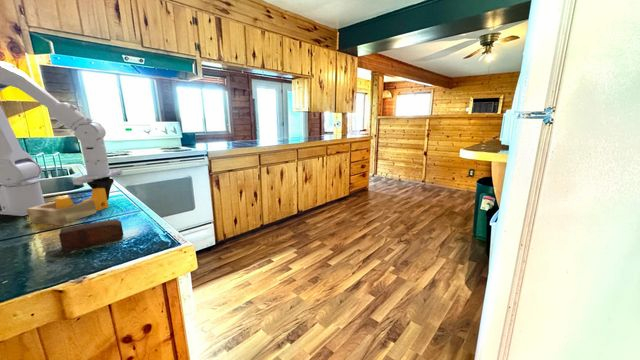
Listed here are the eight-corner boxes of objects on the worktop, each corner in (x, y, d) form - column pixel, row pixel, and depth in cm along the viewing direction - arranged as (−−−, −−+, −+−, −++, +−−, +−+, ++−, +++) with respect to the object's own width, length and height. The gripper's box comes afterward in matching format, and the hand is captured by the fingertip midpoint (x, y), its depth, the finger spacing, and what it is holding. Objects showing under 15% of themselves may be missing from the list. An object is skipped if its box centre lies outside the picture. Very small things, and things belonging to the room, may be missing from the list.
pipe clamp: (97, 206, 84) (93, 187, 82) (108, 207, 83) (104, 188, 81) (54, 219, 72) (49, 198, 70) (67, 221, 71) (61, 199, 70)
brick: (62, 253, 54) (57, 233, 53) (65, 246, 57) (60, 227, 56) (124, 240, 61) (121, 221, 60) (123, 234, 64) (120, 217, 63)
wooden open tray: (30, 222, 70) (26, 208, 69) (68, 210, 79) (65, 198, 78) (60, 225, 69) (57, 211, 68) (96, 212, 78) (94, 200, 77)
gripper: (82, 164, 74) (92, 208, 77) (127, 157, 88) (133, 194, 91) (63, 164, 75) (73, 206, 79) (110, 157, 89) (116, 193, 92)
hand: (104, 200), depth 85 cm, fingers closed
